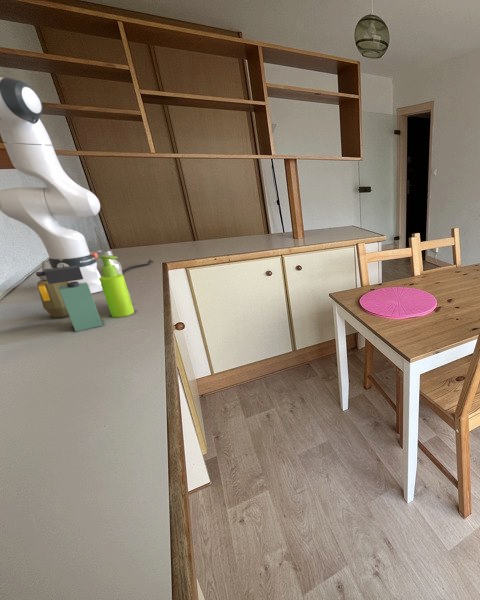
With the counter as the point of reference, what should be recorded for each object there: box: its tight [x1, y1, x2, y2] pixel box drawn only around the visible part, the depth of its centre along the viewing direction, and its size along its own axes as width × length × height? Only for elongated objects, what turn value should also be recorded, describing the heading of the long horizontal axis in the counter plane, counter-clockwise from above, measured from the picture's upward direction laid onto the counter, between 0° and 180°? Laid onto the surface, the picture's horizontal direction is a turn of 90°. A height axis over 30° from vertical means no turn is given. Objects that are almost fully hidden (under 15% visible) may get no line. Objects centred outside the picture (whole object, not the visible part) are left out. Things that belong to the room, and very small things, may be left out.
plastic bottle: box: [96, 249, 133, 303], centre depth 108 cm, size 6×7×20 cm
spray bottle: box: [35, 265, 103, 332], centre depth 92 cm, size 9×5×19 cm, turn 137°
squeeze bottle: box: [36, 260, 70, 318], centre depth 100 cm, size 8×8×18 cm
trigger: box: [37, 284, 50, 301], centre depth 88 cm, size 1×3×4 cm, turn 47°
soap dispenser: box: [97, 255, 135, 318], centre depth 102 cm, size 6×7×20 cm
